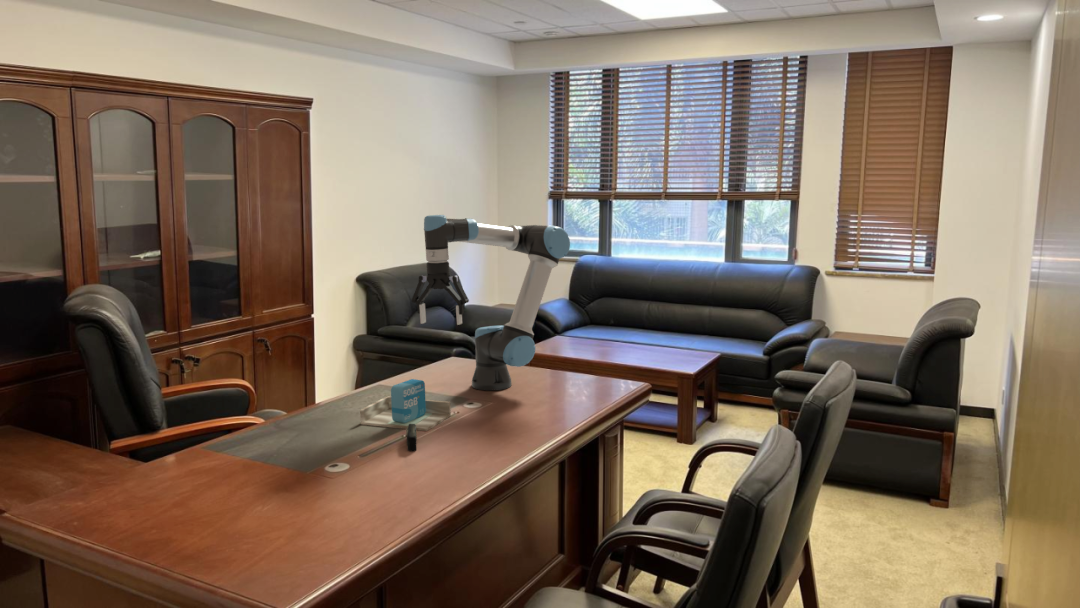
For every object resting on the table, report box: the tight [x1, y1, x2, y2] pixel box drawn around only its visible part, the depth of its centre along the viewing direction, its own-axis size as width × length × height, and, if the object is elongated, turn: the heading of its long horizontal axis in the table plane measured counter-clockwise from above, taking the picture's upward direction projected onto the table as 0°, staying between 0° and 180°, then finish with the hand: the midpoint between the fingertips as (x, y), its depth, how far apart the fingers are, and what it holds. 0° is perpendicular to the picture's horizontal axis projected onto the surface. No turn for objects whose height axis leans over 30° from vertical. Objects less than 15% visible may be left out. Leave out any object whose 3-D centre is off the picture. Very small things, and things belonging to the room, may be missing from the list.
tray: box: [359, 395, 452, 432], centre depth 254 cm, size 17×24×5 cm
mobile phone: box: [405, 424, 418, 452], centre depth 231 cm, size 5×3×15 cm
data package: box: [390, 378, 426, 423], centre depth 252 cm, size 12×4×12 cm, turn 150°
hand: (441, 323), depth 263 cm, fingers open, 13 cm apart
